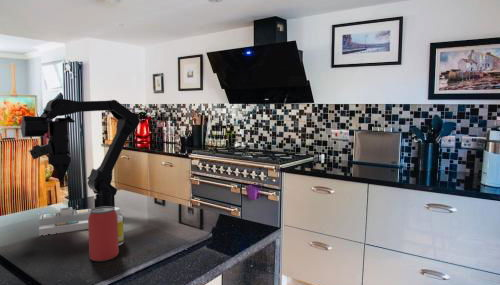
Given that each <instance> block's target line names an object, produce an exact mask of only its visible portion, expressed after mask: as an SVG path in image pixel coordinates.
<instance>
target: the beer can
mask: <svg viewBox="0 0 500 285" xmlns="http://www.w3.org/2000/svg"><path fill="white" fill-rule="evenodd" d="M90 209H91V208H90ZM87 230H88V251H89V259H90V260H91V261H94V262H107V261H109V260H113V259H114V258H116V257H118V256H119V255H118V254H119V253H120V251H119V246H118V218H117V214H116V211H115V208H114V207H110V206H105V207H97V208H94V207H93V208H92V209H91V210H90V215H89V218H88V229H87Z"/></svg>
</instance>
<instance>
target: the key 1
mask: <svg viewBox="0 0 500 285" xmlns="http://www.w3.org/2000/svg"><path fill="white" fill-rule="evenodd" d="M53 213H54V214H52V213H45V214H46V215H44V214H43V215H44V216H43V219H44V218H51V217H56V213H57V212H53Z"/></svg>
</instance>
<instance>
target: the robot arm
mask: <svg viewBox="0 0 500 285" xmlns="http://www.w3.org/2000/svg"><path fill="white" fill-rule="evenodd" d="M102 111H103V112H104V111H108V112H109V113H110V114H111V115H112V116H113V118H114V119H116V120H117V122H116V132H115V134H114V136H113V139H112V141H111V142H110V145H109V147H108V148H107V150H106V153H105V155H104V158H103V159H102V162H100V163H101V164H100V166H98V168H96V169H95V168H92V169H91V171H90V175H89V176H88V177H87V178H86V179H87V180H88V181H87V186H88V188H89V189H90V190H92V192H93V194H94V195H95V196H94V197H95V198H94V199H93V209H94V208H97V207H105V206H110V207H116V202H115V196H116V195H117V192H118V189H117V188H116V187H115V186H113V185H112V182H113V181H112V180H113V171H114V168H115V166H116V164H117V162H118V159H119V157H120V155H121V154H122V151H123V148H124V146H125V144H126V143H127V140H128V138H129V137H130V136H131V135H132V134H133V133H134V132H135V130H136V129H137V128H138V126H139V125H140V122H141V119H140V117H139V115H138V114H136V113H135V112H132V110H130V109H128V107H125V105H122V104H121V102H119V101H118V100H115V99H109V100H88V101H87V100H86V101H84V100H83V101H79V100H74V99H66V98H56V99H50V100H49V101H48V102H47V103H46V105H45V110H43V112H42V113H41V115H40V116H32V115H22V120H21V126H20V132H21V137H22V138H38V137H39V138H40V137H44V136H45V135H47V134H48V138H49V139H48V140H47V144H44V145H39V144H36V145H34V146H32V149H29V154H30V156H31V157H32V160H37V159H38V158H40V157H44V156H45V155H46V156H47V155H48V157H47V158H48V161H47V162H48V164H49V165H51V166H52V167H54V169H55V172H56V175H57V179H58V182H59V183H63V182H64V180H65V177H66V174H67V172H68V169H69V166H70V164H71V163H72V161H71V157H72V156H71V152H70V138H69V137H70V136H69V135H70V134H69V123H75V122H76V120H74V119H73V118H72V117H71V116H70V115H72V114H76V113H81V112H84V113H85V112H102ZM63 116H64V117H63ZM50 119H51V120H50ZM53 119H54V120H53Z"/></svg>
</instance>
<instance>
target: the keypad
mask: <svg viewBox="0 0 500 285" xmlns="http://www.w3.org/2000/svg"><path fill="white" fill-rule="evenodd" d="M86 209H88V212H89V213H83V214H77V213H76V211H78V210H79V209H77V210H72V212H73V215H67V216H60V212H53V213H51V214H54V213H56V217H51V218H44V219H43V216H44V215H46V214H47V213H45V214H40V217H39V228H38V236H39V237H42V236H41V235H43V236H48V234H50V235H55V234H56V233H57V234H62V233H69V232H70V233H71V232H77V231H82V230H88V218H89V215H90V210H91V208H86ZM86 209H83V210H86Z"/></svg>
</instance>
